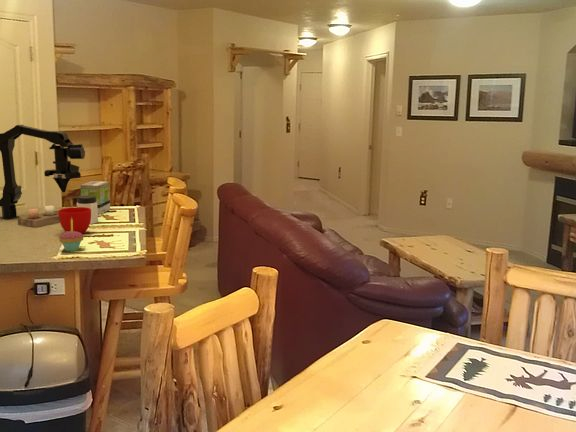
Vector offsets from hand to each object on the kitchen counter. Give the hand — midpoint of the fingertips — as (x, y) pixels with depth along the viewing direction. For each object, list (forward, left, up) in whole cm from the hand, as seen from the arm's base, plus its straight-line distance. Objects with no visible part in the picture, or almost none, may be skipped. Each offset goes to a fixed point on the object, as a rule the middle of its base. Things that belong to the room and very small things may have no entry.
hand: (63, 192), depth 281 cm
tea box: (0, +19, -13) cm, 23 cm away
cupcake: (+51, -38, -13) cm, 65 cm away
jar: (+17, -1, -13) cm, 21 cm away
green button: (0, 0, -12) cm, 12 cm away
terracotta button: (0, -17, -9) cm, 19 cm away
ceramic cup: (+28, -18, -13) cm, 36 cm away
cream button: (0, -8, -9) cm, 13 cm away
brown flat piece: (0, -8, -12) cm, 15 cm away
